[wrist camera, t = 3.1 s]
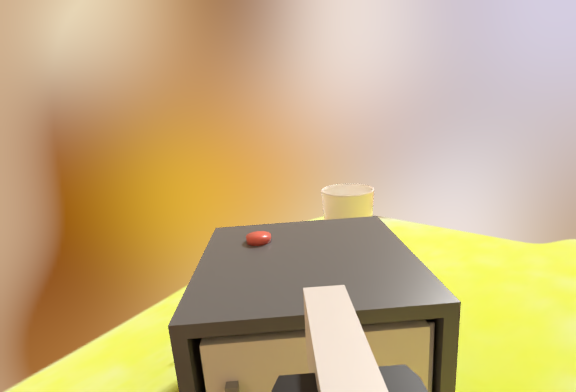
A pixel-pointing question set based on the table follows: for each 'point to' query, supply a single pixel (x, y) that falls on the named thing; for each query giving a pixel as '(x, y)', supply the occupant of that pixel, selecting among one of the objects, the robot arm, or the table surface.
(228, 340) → the side door
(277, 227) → the cabinet with door
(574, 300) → the table surface
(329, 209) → the candle holder
